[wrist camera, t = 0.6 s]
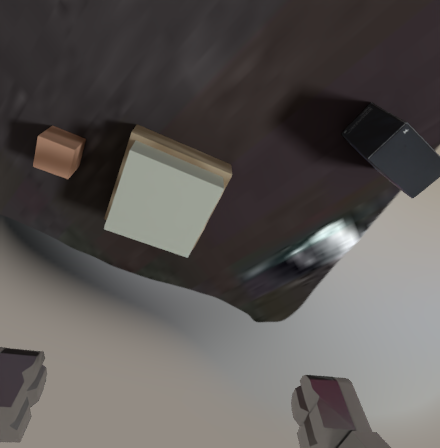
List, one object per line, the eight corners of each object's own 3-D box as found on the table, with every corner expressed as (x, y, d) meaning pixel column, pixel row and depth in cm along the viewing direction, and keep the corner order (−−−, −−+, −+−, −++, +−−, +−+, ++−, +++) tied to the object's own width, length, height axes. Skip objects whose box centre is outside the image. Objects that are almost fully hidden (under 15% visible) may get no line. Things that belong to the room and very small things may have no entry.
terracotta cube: (52, 125, 48) (37, 135, 44) (86, 138, 49) (74, 150, 45) (47, 154, 50) (32, 166, 46) (79, 166, 52) (68, 179, 47)
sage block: (135, 140, 46) (129, 149, 42) (223, 177, 49) (224, 188, 46) (110, 215, 52) (103, 229, 49) (189, 243, 56) (187, 257, 53)
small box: (337, 135, 50) (365, 159, 41) (370, 100, 47) (407, 119, 39) (379, 171, 54) (412, 201, 45) (411, 141, 51) (454, 167, 42)
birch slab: (137, 123, 49) (131, 132, 45) (230, 163, 53) (232, 174, 49) (111, 205, 56) (104, 219, 53) (194, 235, 60) (193, 249, 57)
